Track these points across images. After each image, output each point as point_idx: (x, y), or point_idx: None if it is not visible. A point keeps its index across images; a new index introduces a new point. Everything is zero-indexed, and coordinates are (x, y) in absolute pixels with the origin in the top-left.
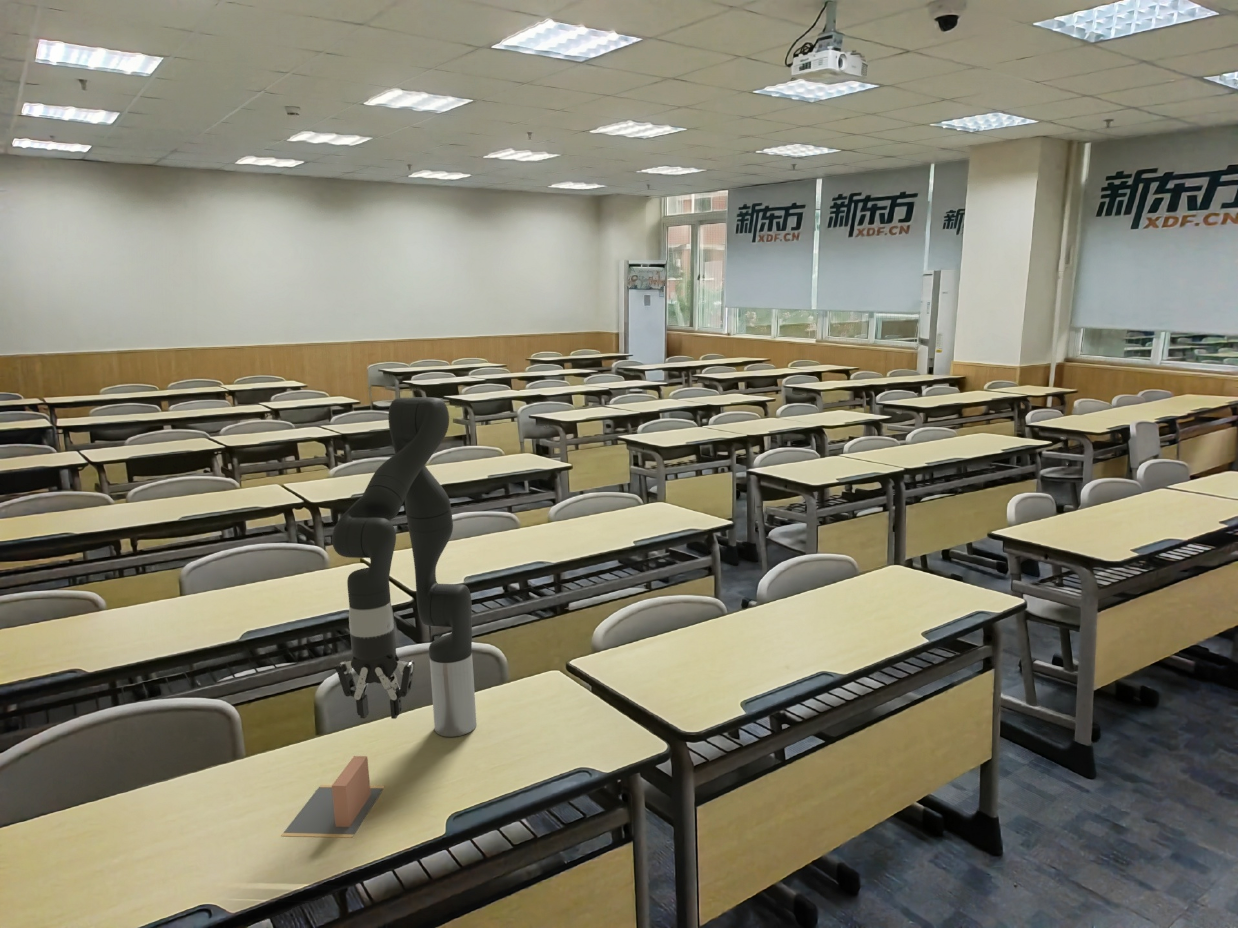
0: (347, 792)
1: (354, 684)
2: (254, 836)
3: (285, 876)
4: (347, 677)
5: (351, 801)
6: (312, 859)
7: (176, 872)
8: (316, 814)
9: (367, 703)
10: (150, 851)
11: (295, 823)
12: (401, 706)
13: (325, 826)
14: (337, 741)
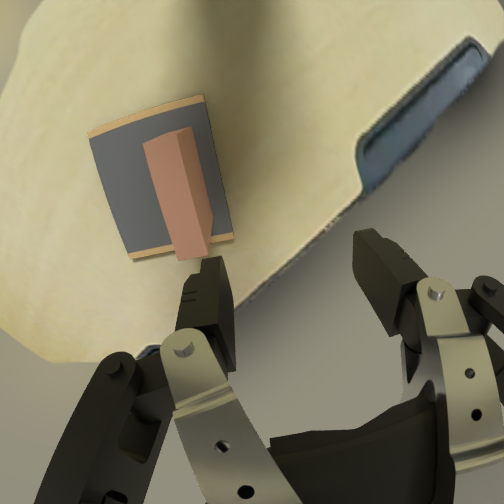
0: (208, 242)
1: (128, 394)
2: (96, 257)
3: None
4: (134, 487)
5: (206, 217)
6: None
7: (84, 318)
8: (138, 203)
9: (221, 290)
10: (38, 298)
11: (126, 231)
12: (404, 252)
13: None
14: (43, 21)
